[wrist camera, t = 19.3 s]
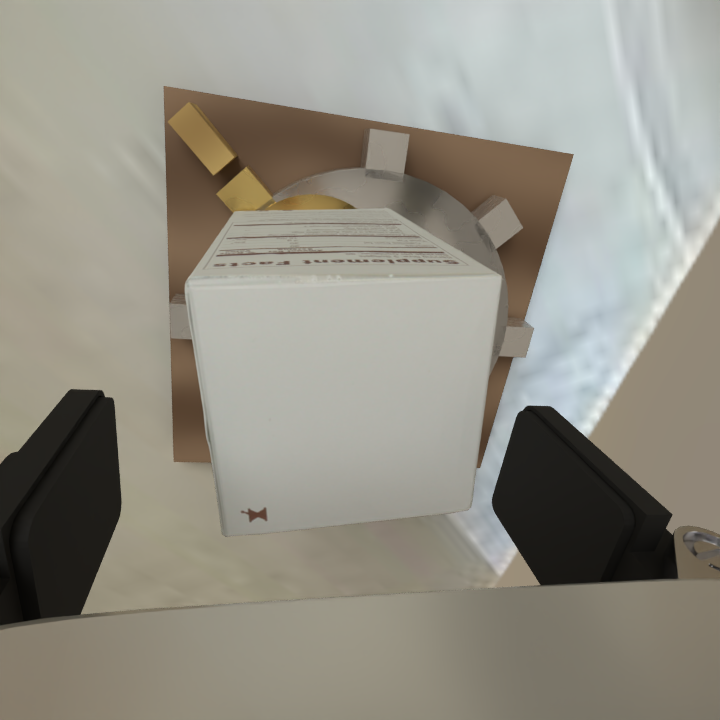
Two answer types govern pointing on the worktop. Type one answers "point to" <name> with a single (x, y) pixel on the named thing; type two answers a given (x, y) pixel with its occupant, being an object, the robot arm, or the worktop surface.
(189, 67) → the worktop surface
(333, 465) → the supplement box
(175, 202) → the walnut plinth
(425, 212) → the sprocket wheel
